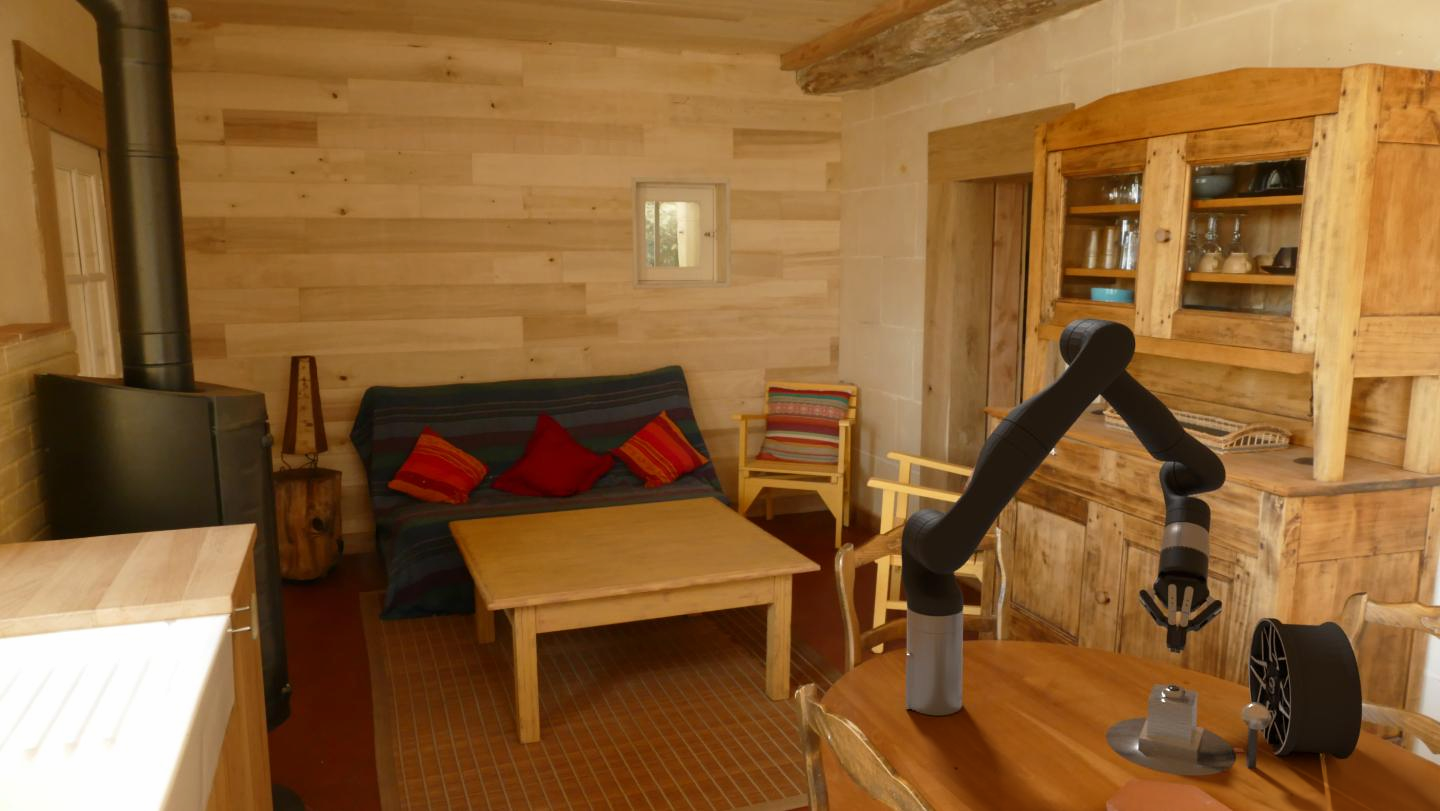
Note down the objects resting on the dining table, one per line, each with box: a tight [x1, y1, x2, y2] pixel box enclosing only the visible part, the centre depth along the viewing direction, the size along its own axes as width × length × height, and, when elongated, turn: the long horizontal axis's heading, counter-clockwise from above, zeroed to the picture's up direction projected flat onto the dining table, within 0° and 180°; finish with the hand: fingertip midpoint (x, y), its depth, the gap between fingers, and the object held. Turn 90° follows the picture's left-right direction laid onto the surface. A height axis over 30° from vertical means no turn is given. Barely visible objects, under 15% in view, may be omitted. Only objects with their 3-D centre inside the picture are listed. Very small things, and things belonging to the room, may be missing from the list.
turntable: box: [1105, 717, 1246, 776], centre depth 154 cm, size 19×18×1 cm
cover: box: [1138, 683, 1205, 763], centre depth 154 cm, size 8×8×9 cm
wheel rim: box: [1248, 617, 1363, 760], centre depth 153 cm, size 20×9×20 cm, turn 168°
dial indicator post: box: [1241, 701, 1272, 770], centre depth 147 cm, size 4×3×11 cm
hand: (1175, 650), depth 162 cm, fingers closed
